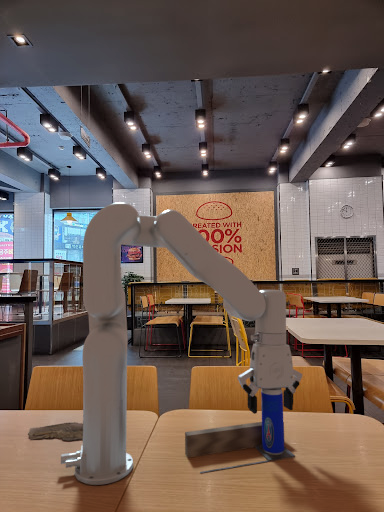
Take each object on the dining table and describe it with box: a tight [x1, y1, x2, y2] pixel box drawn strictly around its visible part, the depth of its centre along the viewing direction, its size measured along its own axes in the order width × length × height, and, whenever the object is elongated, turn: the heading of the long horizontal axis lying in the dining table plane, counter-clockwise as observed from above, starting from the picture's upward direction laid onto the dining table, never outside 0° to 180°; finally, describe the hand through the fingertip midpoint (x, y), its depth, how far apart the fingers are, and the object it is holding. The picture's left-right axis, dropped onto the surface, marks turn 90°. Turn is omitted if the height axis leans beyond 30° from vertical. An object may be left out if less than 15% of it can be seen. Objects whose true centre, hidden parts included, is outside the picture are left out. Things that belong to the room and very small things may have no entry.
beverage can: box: [260, 388, 285, 455], centre depth 82 cm, size 5×5×15 cm
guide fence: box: [184, 421, 296, 474], centre depth 81 cm, size 26×9×5 cm, turn 106°
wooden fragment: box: [27, 421, 83, 442], centre depth 94 cm, size 26×11×1 cm, turn 85°
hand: (270, 409), depth 82 cm, fingers open, 9 cm apart
